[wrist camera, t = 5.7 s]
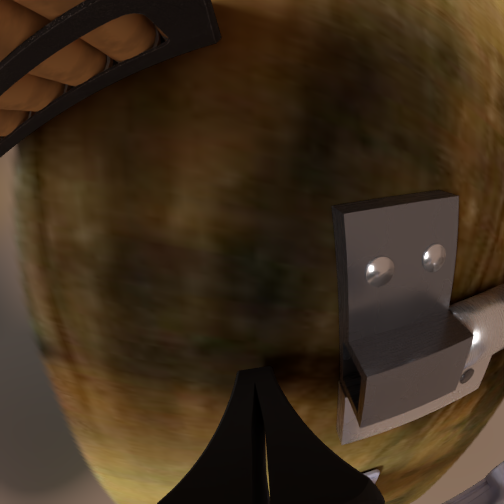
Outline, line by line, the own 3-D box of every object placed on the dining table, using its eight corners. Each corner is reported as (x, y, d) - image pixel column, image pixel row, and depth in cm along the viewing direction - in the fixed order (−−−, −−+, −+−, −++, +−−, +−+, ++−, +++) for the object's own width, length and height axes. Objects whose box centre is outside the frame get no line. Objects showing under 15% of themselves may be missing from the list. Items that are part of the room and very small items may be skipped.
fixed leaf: (469, 377, 14) (492, 407, 11) (336, 429, 14) (350, 472, 11) (499, 272, 11) (537, 298, 8) (338, 323, 11) (365, 375, 8)
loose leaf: (424, 350, 12) (455, 390, 9) (339, 377, 12) (360, 428, 9) (439, 190, 10) (495, 209, 7) (331, 205, 10) (371, 232, 7)
